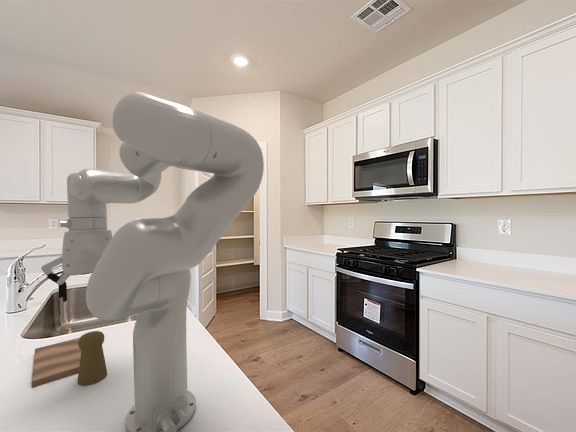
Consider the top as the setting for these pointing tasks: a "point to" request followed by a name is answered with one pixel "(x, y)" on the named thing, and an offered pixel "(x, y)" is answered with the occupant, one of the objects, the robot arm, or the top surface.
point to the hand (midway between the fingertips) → (90, 295)
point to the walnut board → (56, 362)
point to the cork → (91, 359)
